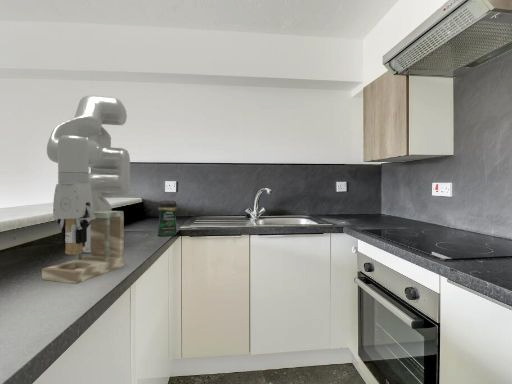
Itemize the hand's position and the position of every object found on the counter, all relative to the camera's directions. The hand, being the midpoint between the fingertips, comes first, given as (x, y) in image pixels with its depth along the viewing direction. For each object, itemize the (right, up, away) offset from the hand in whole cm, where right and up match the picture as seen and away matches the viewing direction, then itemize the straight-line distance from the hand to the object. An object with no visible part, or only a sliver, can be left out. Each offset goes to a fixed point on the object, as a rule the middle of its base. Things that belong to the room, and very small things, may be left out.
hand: (74, 241), depth 84 cm
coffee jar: (+5, -9, +71) cm, 71 cm away
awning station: (+1, -10, +5) cm, 11 cm away
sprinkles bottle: (0, -4, 0) cm, 4 cm away
